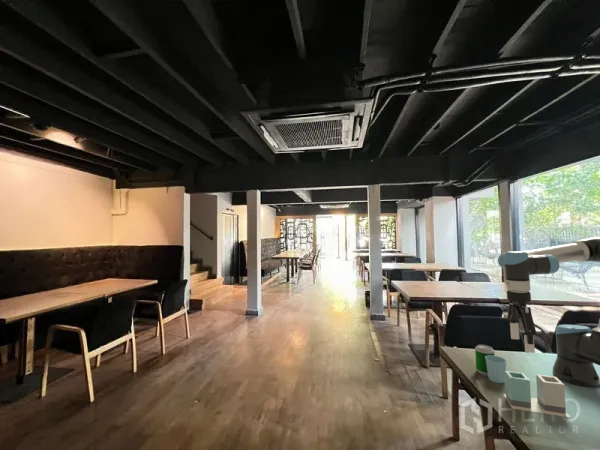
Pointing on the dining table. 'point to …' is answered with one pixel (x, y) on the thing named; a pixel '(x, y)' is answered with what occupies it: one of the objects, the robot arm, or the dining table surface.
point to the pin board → (536, 408)
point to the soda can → (482, 358)
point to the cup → (496, 368)
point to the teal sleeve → (518, 389)
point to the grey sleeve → (551, 393)
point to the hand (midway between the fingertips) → (522, 345)
